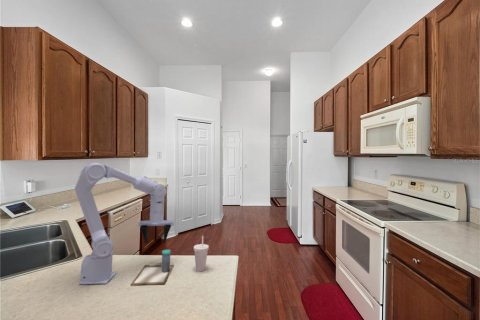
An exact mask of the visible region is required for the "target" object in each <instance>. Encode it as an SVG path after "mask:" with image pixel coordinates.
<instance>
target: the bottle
mask: <svg viewBox="0 0 480 320" xmlns="http://www.w3.org/2000/svg"><path fill="white" fill-rule="evenodd" d="M171 251H172V250H171V249H164V250H161V263H162V272H163V273H166V272H169V271H170V265H171V253H172V252H171Z"/></svg>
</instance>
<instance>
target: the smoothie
mask: <svg viewBox="0 0 480 320" xmlns="http://www.w3.org/2000/svg"><path fill="white" fill-rule="evenodd" d="M208 250H210V248H209V244H206V243H204V235H202V236H201V243H200V244H195V245H194V246H193V252H194V262H195V270H196V272H197V273H198V272H200V273H201V272H204V271H206V270H205V269H206V265H207V257H208V252H209V251H208Z"/></svg>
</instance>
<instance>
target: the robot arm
mask: <svg viewBox="0 0 480 320" xmlns="http://www.w3.org/2000/svg"><path fill="white" fill-rule="evenodd" d="M103 178H106V179H109V178H114V179H118V180H120V181H123V182H125V183H129V184H132V186H133V188H134V189H135V190H137V191H139V192H143V193H145V194H147V195H150V206H149V207H150V208H149V220H139V221H138V225H137V226H138V227H139V228H140V231H141V234H142V235H143V239H144V244H148V242H149V230H150V227H156V226H157V227H163V226H164V227H163V233H164V234H163V244H165V243H166V242H167V239H168V235H169V233H170V230H171V228H172V227H174V226H175V220H165V219H164V217H165V196H166V195H167V192H168V190H167V187H166V186H165V185H164V184H161V183H158V181H156V180H151V179H149V178H148V177H147V176H146V175H143V176H142V175H141V176H140V175H139V176H137V177H136V176H134V175H131V174H130V173H127V172H125V171H122V170H121V169H118V168H116V167H114V166H110V165H106V164H102V163H101V162H90V163H88V164H87V165H86V166H84V168H83V169H82V170H81V171H80V173H79V176H78V179H77V181H76V183H75V185H74V191H75V194H76V197H77V199H78V202H79V205H80V208H81V211H82V214H83V217H84V220H85V221H86V225H87V229H88V231H89V234H90V237H91V242H90V243H91V244H90V245H91V248H92V250H93V251H92V252H91V254H88V255H85V256H84V257H83V260H82V262H81V266H80V281H79V282H78V284H79V285H98V284H99V285H100V284H101V285H102V284H108V283H109V282H110V280H111V279H113V277H115V275H117V272H116V271H115V272H113V253H114V252H113V251H114V248H115V247H114V243H113V242H112V241H111V238H110V237H109V236H108V235H107V232H106V230H105V226H104V224H103V221H102V219H101V216H100V212H99V209H98V207H97V203H96V201H95V198H94V195H93V193H92V190H93V188H94V187H95V186H96V184H97V183H98V182H99V181H100V180H102V179H103Z"/></svg>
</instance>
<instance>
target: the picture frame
mask: <svg viewBox="0 0 480 320" xmlns="http://www.w3.org/2000/svg"><path fill="white" fill-rule="evenodd" d="M173 267H174V264H170V271H169V272H166V273H163V272H162V262H151V263H150V264H145V265H144V266H143V267H142V269H141V270H140V272H139V273H138V274H137V275H136V276H135V278H134V279H133V281H132V282H131V283H130V286H131V287H132V286H133V287H134V286H164V285H166V283H167V282H168V281H167V280H168V279H169V276H170V274H171V272H172V270H173Z"/></svg>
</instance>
